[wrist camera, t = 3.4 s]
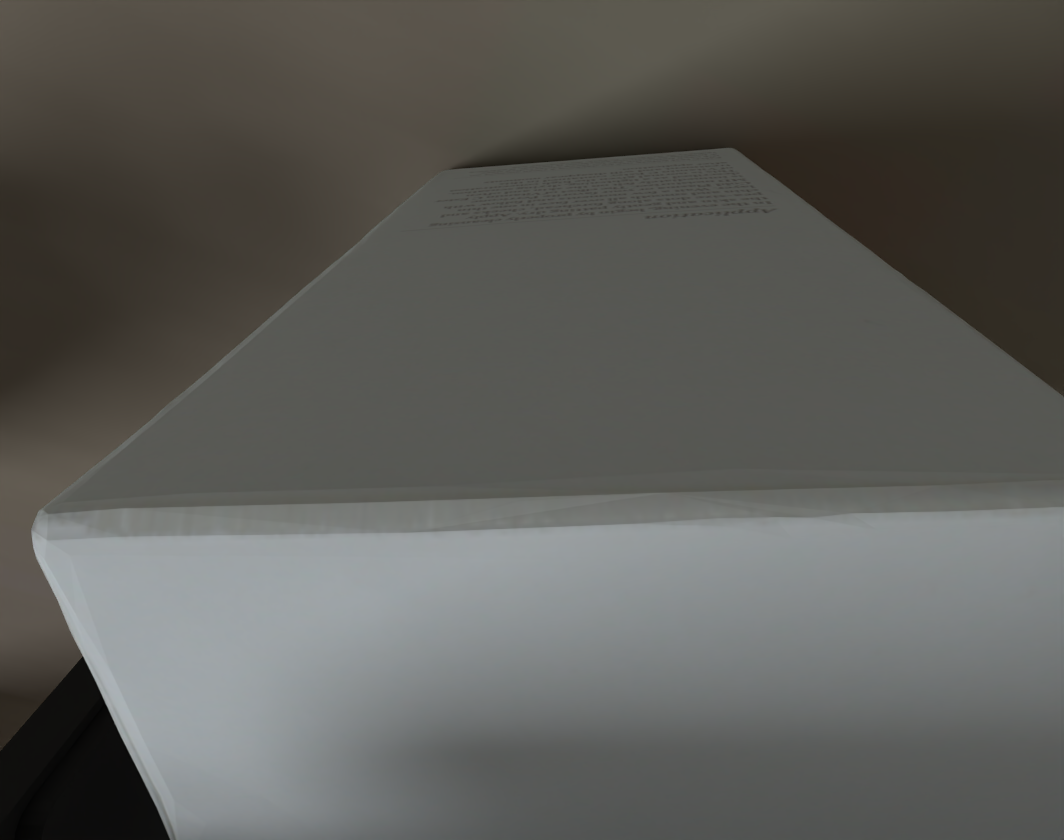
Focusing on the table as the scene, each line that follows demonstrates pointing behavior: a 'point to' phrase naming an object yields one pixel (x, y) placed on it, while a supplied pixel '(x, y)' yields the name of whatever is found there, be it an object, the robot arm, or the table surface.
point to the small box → (588, 537)
